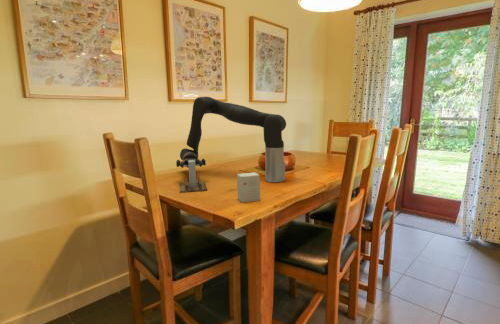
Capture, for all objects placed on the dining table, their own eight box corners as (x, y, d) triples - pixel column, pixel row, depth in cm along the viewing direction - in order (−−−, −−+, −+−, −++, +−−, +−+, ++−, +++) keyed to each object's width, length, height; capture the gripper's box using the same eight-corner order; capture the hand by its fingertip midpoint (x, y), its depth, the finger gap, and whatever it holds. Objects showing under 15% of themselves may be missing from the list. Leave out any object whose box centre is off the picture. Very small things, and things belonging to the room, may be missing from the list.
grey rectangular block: (195, 184, 139) (194, 159, 137) (196, 187, 133) (195, 161, 131) (189, 184, 138) (188, 160, 136) (189, 188, 133) (188, 162, 131)
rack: (204, 183, 144) (204, 176, 144) (207, 190, 131) (207, 183, 130) (180, 185, 142) (179, 178, 141) (180, 192, 128) (179, 185, 127)
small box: (255, 196, 121) (255, 172, 119) (260, 200, 115) (260, 174, 114) (237, 198, 118) (236, 173, 116) (241, 202, 113) (240, 176, 111)
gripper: (176, 153, 152) (175, 158, 137) (203, 152, 156) (206, 156, 140) (177, 167, 154) (176, 173, 138) (204, 166, 157) (206, 172, 141)
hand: (191, 165), depth 139 cm, fingers open, 8 cm apart
